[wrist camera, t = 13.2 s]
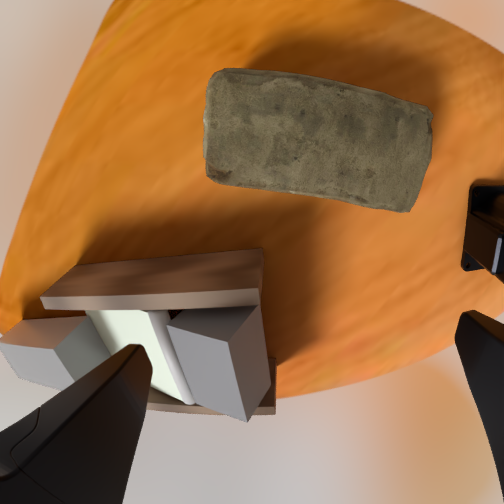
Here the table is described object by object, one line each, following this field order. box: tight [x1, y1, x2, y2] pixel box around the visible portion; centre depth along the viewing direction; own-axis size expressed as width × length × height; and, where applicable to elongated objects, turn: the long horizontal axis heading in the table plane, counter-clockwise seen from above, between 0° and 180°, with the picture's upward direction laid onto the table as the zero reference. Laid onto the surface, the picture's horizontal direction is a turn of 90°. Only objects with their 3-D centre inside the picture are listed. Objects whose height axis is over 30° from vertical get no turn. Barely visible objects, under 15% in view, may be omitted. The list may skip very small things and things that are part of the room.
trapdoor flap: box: [85, 305, 271, 422], centre depth 20 cm, size 14×8×4 cm, turn 97°
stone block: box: [203, 68, 434, 213], centre depth 14 cm, size 6×12×5 cm, turn 85°
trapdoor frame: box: [40, 248, 277, 415], centre depth 20 cm, size 15×11×5 cm
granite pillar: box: [0, 316, 112, 391], centre depth 22 cm, size 5×5×13 cm
